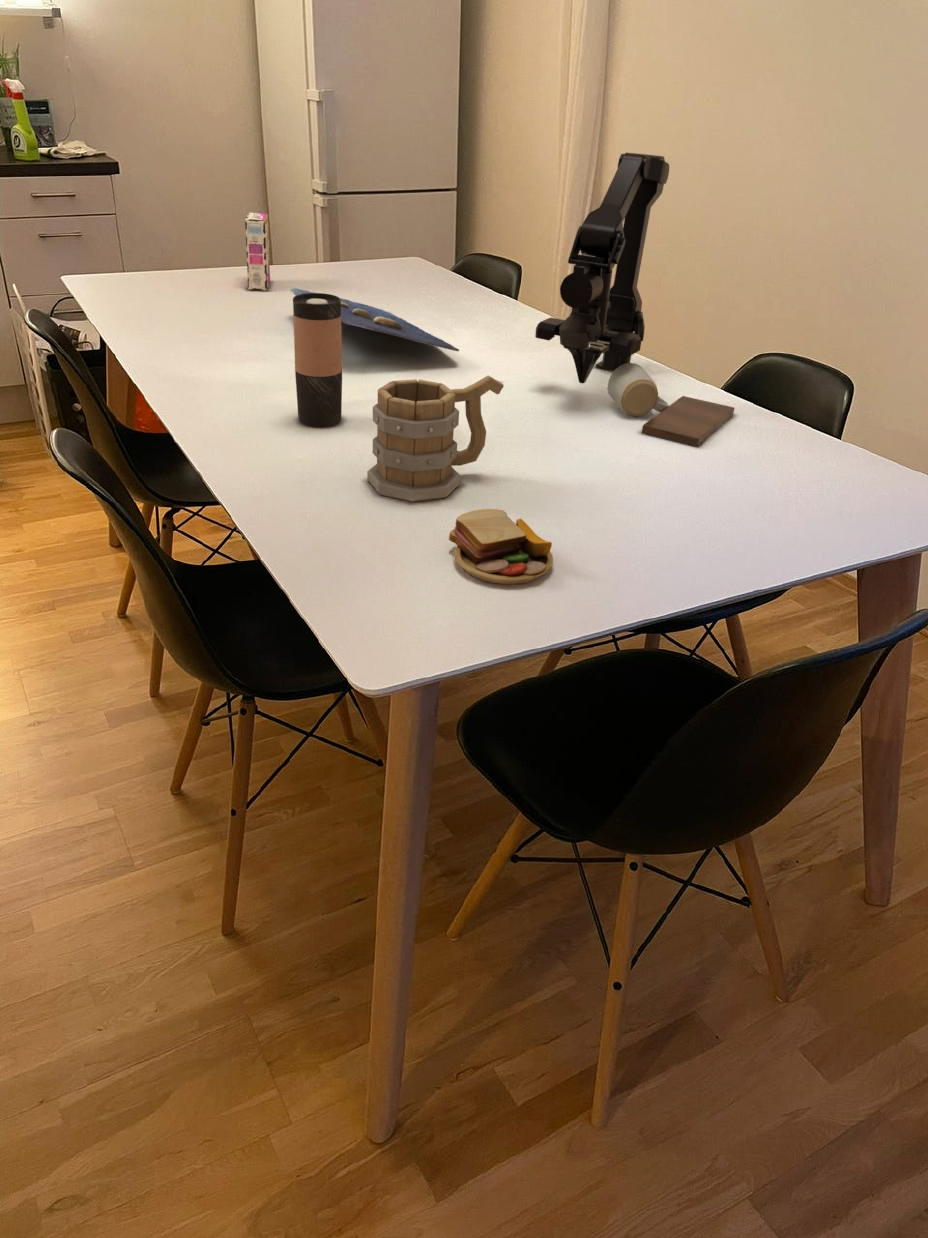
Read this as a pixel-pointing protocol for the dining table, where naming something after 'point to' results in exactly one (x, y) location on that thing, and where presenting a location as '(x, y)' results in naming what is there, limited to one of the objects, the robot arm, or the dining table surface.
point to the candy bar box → (257, 251)
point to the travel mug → (318, 358)
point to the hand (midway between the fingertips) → (582, 382)
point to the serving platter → (382, 322)
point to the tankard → (424, 437)
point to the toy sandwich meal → (499, 548)
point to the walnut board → (688, 421)
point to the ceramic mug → (634, 390)
